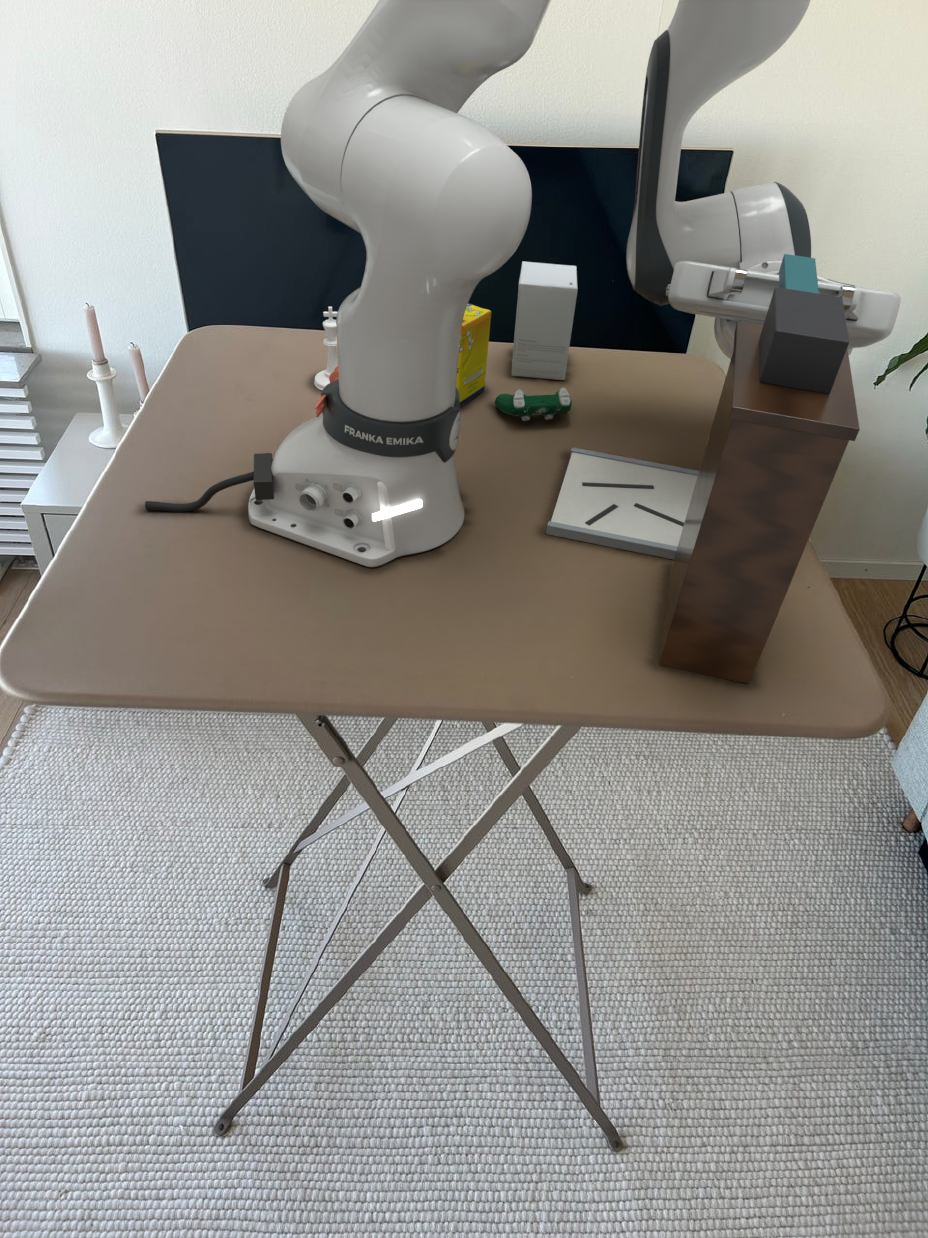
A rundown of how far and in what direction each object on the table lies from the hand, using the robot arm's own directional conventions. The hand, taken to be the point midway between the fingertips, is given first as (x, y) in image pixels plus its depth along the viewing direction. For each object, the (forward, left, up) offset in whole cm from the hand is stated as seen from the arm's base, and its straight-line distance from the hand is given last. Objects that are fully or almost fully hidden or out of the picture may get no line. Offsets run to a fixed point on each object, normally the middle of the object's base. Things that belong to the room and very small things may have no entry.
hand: (793, 287), depth 75 cm
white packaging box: (-25, +32, -27) cm, 49 cm away
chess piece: (-49, +18, -27) cm, 59 cm away
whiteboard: (-8, +3, -27) cm, 28 cm away
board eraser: (0, -7, -1) cm, 7 cm away
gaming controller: (-23, +19, -27) cm, 40 cm away
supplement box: (-34, +21, -27) cm, 48 cm away
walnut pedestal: (0, -13, -27) cm, 30 cm away
